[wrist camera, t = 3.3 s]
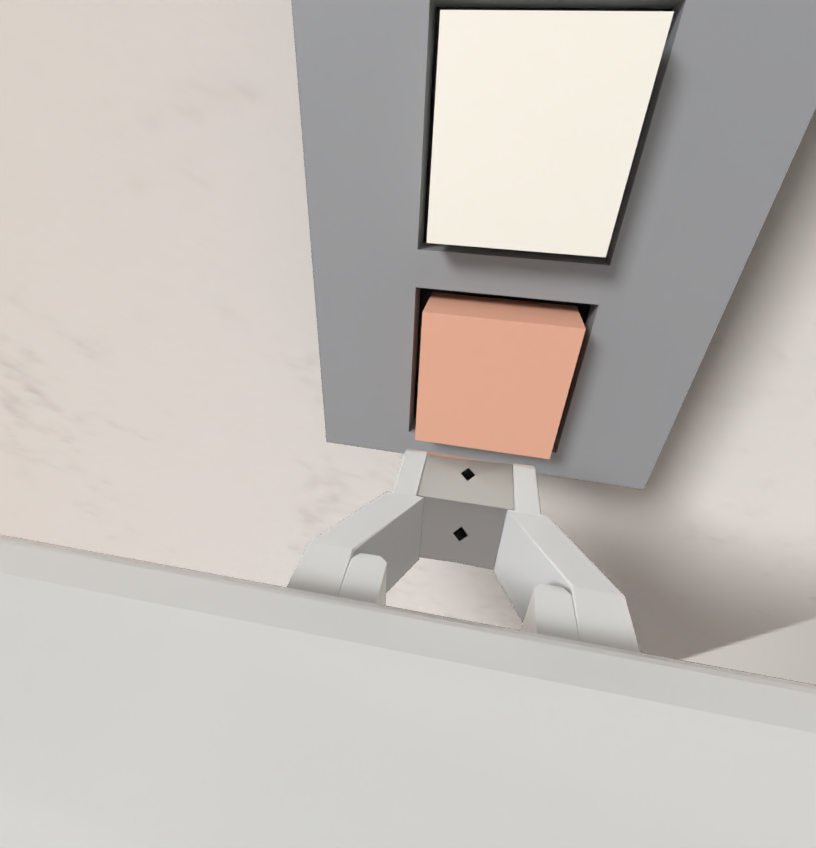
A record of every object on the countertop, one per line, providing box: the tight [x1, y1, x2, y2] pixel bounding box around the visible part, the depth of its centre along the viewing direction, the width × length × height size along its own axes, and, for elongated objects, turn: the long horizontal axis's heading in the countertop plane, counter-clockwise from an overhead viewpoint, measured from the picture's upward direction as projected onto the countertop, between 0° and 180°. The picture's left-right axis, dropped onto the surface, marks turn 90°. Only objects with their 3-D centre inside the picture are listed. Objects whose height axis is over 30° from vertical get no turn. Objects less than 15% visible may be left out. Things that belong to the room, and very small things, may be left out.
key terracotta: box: [415, 292, 586, 459], centre depth 15 cm, size 5×5×2 cm
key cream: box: [427, 10, 674, 257], centre depth 11 cm, size 5×5×2 cm
